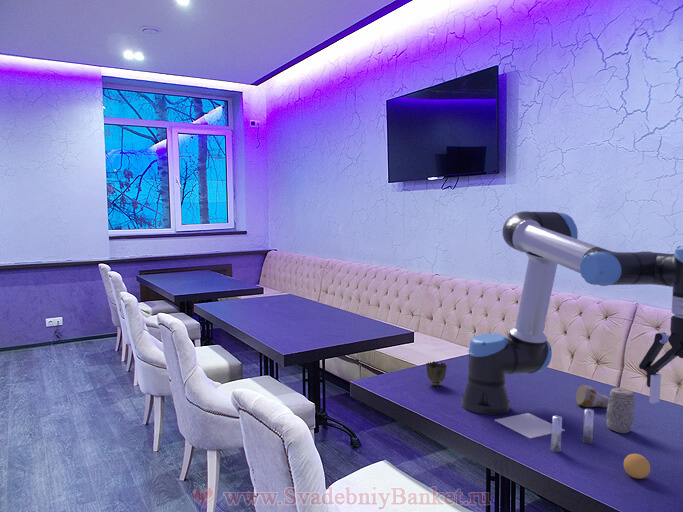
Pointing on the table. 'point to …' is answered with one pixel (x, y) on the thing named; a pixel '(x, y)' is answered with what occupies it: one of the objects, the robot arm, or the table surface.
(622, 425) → the carving
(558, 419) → the post
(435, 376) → the cup
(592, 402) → the mug
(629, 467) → the ball
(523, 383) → the table surface
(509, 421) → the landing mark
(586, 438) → the post
